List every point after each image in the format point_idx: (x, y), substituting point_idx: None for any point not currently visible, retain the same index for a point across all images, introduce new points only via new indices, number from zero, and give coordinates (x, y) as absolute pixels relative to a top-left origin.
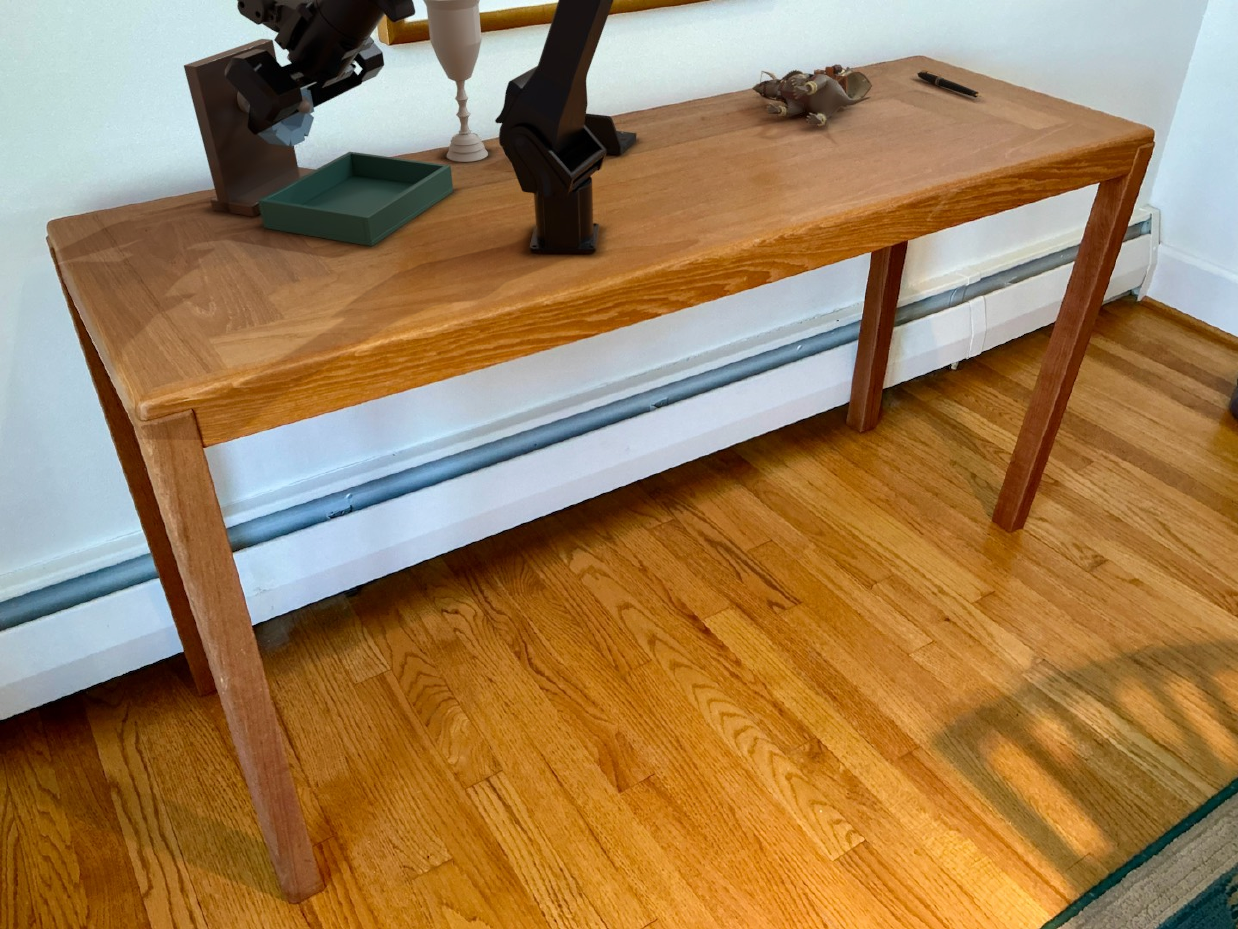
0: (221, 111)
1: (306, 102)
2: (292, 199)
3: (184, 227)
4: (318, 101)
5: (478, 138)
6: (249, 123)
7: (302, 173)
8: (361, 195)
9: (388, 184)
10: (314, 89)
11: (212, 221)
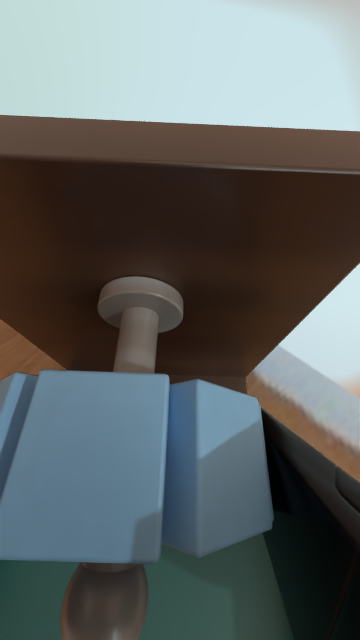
0: (31, 301)
1: None
2: None
3: (17, 347)
4: (269, 539)
5: None
6: None
7: None
8: (189, 599)
9: (273, 628)
10: (289, 541)
11: (41, 369)
